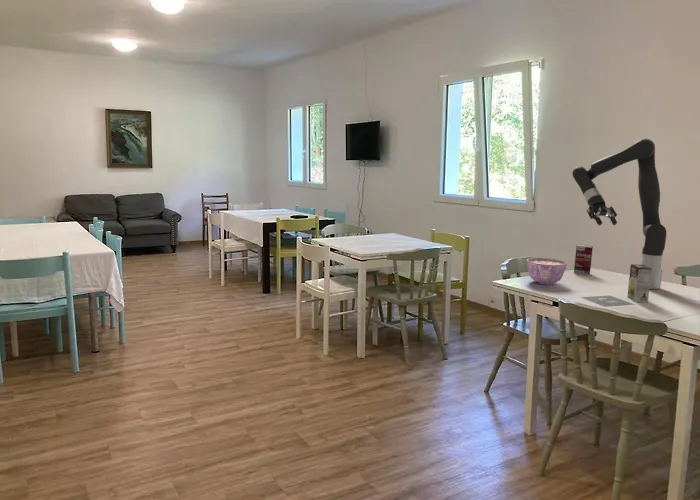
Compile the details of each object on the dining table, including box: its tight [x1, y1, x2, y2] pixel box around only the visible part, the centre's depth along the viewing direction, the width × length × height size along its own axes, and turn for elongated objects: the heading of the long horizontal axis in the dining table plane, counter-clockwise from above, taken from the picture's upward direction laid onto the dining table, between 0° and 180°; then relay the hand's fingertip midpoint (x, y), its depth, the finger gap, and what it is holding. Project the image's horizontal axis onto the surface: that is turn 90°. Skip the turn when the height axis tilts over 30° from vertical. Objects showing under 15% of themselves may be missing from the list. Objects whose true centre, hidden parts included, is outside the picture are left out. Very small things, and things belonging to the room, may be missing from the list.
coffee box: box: [627, 263, 652, 303], centre depth 258 cm, size 9×6×16 cm
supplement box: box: [573, 244, 594, 276], centre depth 314 cm, size 9×5×16 cm, turn 68°
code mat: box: [581, 295, 634, 307], centre depth 257 cm, size 16×16×1 cm
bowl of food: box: [526, 257, 568, 285], centre depth 290 cm, size 20×20×12 cm
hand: (608, 224), depth 275 cm, fingers open, 8 cm apart
